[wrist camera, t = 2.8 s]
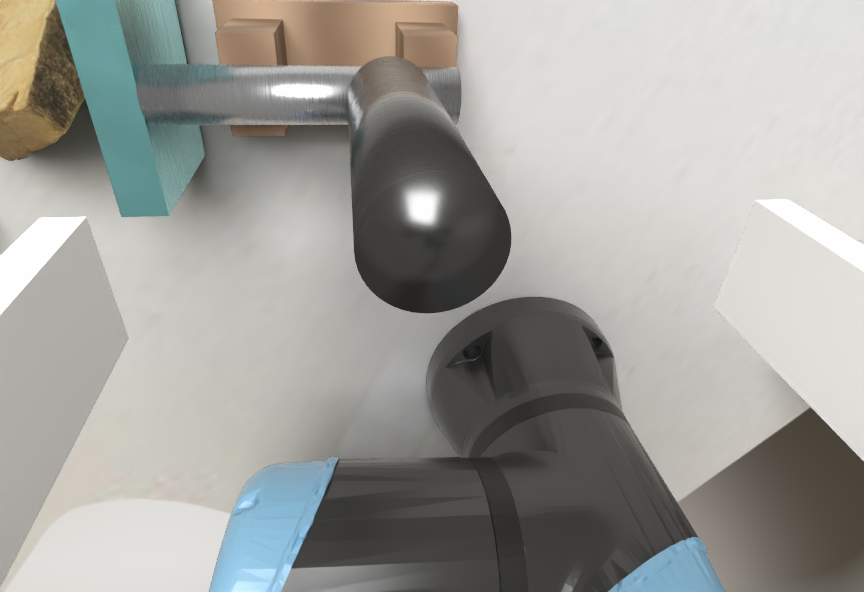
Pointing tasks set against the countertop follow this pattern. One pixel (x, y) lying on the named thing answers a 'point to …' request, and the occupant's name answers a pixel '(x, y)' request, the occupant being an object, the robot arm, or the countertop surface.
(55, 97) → the rock
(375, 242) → the lever handle
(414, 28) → the rod stand
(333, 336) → the countertop surface
